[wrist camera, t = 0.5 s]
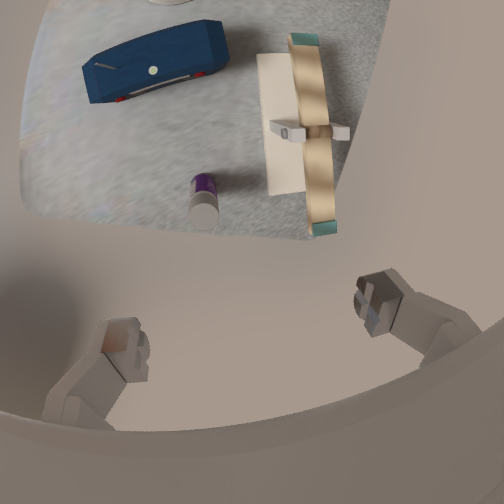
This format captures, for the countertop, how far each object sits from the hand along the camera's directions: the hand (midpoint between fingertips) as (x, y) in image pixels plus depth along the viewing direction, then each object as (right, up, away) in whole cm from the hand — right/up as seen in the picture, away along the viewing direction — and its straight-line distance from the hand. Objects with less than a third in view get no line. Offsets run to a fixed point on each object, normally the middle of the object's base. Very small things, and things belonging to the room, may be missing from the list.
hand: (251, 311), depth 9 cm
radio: (-16, +34, +28) cm, 47 cm away
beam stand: (+7, +26, +38) cm, 46 cm away
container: (-9, +15, +42) cm, 45 cm away
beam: (+9, +20, +29) cm, 36 cm away
